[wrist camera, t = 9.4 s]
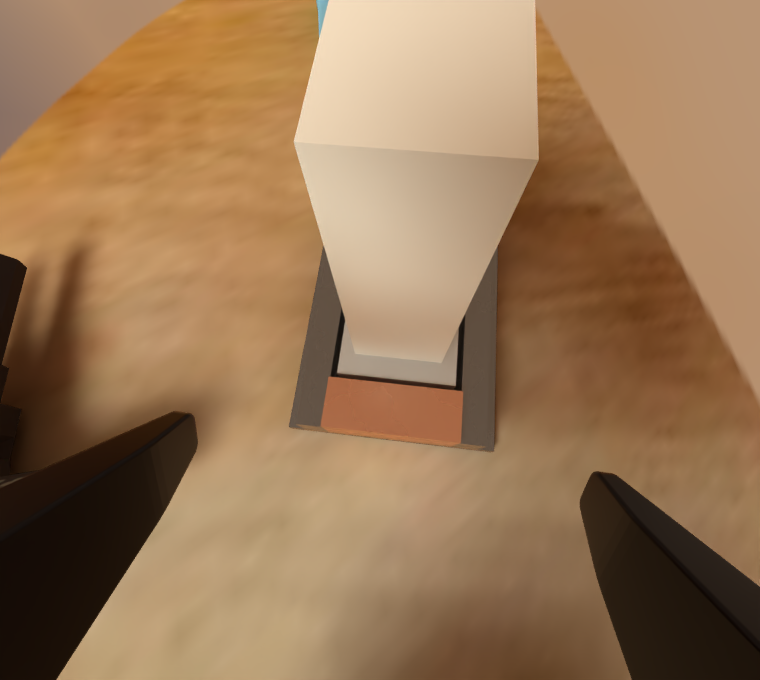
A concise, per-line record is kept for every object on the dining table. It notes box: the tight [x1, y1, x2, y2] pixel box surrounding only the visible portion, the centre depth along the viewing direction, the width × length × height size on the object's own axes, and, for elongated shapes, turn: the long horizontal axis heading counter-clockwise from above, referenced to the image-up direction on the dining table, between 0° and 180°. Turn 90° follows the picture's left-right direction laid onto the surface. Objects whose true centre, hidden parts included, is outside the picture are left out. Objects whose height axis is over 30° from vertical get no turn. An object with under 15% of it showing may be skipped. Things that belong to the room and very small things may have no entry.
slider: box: [294, 0, 539, 390], centre depth 13 cm, size 6×5×14 cm
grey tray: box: [289, 246, 498, 452], centre depth 20 cm, size 18×10×3 cm, turn 173°
